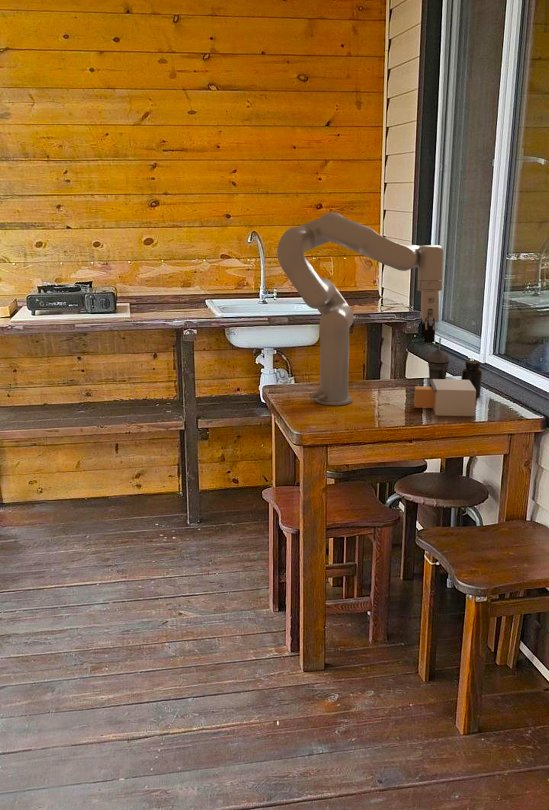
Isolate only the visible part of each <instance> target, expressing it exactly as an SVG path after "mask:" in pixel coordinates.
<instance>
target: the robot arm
mask: <svg viewBox="0 0 549 810" xmlns="http://www.w3.org/2000/svg"><path fill="white" fill-rule="evenodd" d="M329 242H331V243H332V244H336V245H338V246H341V247H344V248H345V249H348V250H351V251H352V252H355V253H358V254H360V255H362V256H364V257H366V258H369V259H371V260H373V261H376V262H378V263H380V264H383V265H385V266H388V267H390V268H393V269H395V270H397V271H401V272H407V271H410V270H411V269H413V268H417V291H419V292H420V316H421V320H422V324H421V337H423V341H424V343H435V341H436V329H435V326H436V325H435V322H436V324H437V323H439V322H440V321H439V320H440V319H439V317H440V314H439V313H440V311H439V310H440V294H439V293H440V292H442V290H443V268H444V267H443V266H444V248H443V247H442V246H441V245H440V244H438V245H437V244H429V245H426V244H425V245H416V244H409V243H408V244H401V243H400V242H396V241H394V240H391V239H389V238H387V237H385V236H382V235H381V234H379V233H377V232H376V231H375V230H374V229H373V228H371V227H369V226H367V225H364V224H362V223H359V222H356V221H354V220H351V219H349V218H346V217H344V216H343V215H342V214H341V213H339V212H334V211H331V212H326V213H324V214H322V215H321V216H320V217H319V218H316V219H314V220H312V221H309V222H307V223H303V224H301V225H298V226H293V227H290V228H289V229H287V230H285V232H283V234H282V235H281V236H280V239H279V241H278V244H277V251H276V252H277V253H276V254H277V255H276V256H277V261H278V263H279V265H280V267H281V269H282V271H283V273H284V274H285V275H286V277H287V278H288V279H289V281H290V282H291V284H292V285H293V287H294V289H295V290H296V291H297V293H298V294H299V296H300V297H301V299H302V300H303V301H304V303H305V304H306V306H307V307H308V308H310V309H314V310H316V309H317V311H318V312H319V314H320V315H321V317H320V320H319V327H318V328H319V343H320V344H319V346H320V347H319V349H320V353H319V357H320V358H319V360H320V361H319V362H320V365H319V368H320V369H319V371H320V372H319V387H318V388H317V390H316V392H312V393H309V395H308V398H309V399H310V400H313V399H314V400H315V403H318V404H321V405H325V406H345V405H349V404H351V403H353V399H354V398H353V396H351V395H349V377H350V376H349V372H350V371H349V370H350V328H351V326H352V325H353V323H354V311H353V310H352V308H351V307H350V305H349V304H348V302H347V301H346V300H345V298H344V297H343V295H342V293H341V292H340V291H339V290H338V288H337V287H336V286H335V284H334V283H333V282H332V281H331V280H330V279H328V278H326V277H322V276H320V275H319V274H318V273H317V271H316V270H315V269H314V266H313V265H312V264H311V263H310V262H309V260H308V259H307V258H306V256H305V252H307V251H310V250H314V249H315V248H318V247H320V246H324V245H325V244H328V243H329Z"/></svg>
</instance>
